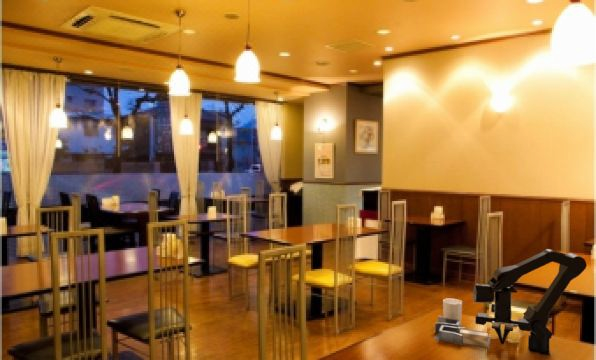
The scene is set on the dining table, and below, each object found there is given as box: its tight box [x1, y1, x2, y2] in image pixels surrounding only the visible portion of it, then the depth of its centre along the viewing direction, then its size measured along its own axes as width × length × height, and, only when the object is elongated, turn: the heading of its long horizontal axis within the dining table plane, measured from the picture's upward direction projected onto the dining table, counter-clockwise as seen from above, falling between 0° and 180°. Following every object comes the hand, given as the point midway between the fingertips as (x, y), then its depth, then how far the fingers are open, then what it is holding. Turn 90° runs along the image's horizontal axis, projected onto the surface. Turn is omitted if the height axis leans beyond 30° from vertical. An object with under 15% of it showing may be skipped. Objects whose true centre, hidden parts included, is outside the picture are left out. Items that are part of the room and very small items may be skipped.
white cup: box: [442, 298, 463, 325], centre depth 198 cm, size 8×8×10 cm
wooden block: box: [460, 329, 488, 347], centre depth 176 cm, size 10×4×4 cm, turn 64°
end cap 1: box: [434, 315, 461, 334], centre depth 189 cm, size 9×10×4 cm
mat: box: [433, 328, 492, 349], centre depth 183 cm, size 20×17×1 cm
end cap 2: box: [438, 325, 466, 347], centre depth 180 cm, size 9×10×4 cm
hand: (502, 344), depth 172 cm, fingers closed
